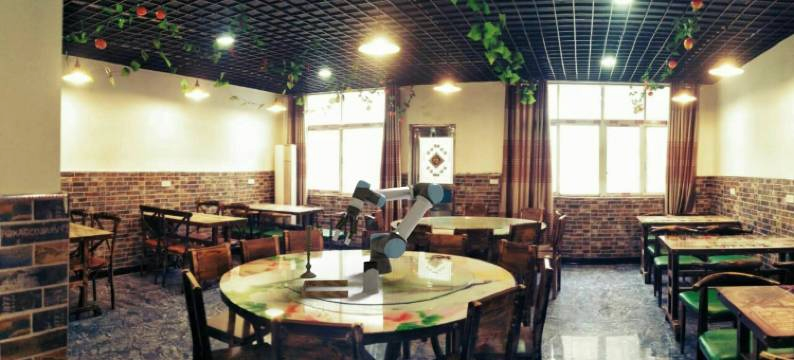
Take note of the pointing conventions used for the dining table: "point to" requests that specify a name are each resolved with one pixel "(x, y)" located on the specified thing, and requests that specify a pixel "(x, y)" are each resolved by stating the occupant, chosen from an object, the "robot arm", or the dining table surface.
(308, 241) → the candlestick holder
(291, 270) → the dining table surface
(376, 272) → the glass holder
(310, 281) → the corral
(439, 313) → the dining table surface
